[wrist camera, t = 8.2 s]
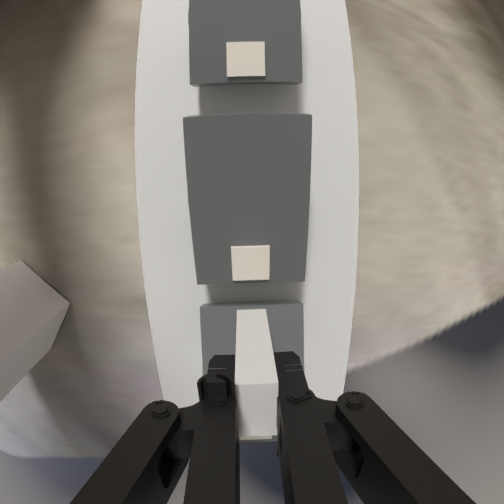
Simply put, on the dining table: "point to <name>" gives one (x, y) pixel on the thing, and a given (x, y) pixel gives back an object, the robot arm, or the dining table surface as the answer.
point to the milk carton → (26, 322)
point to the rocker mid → (249, 195)
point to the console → (176, 194)
